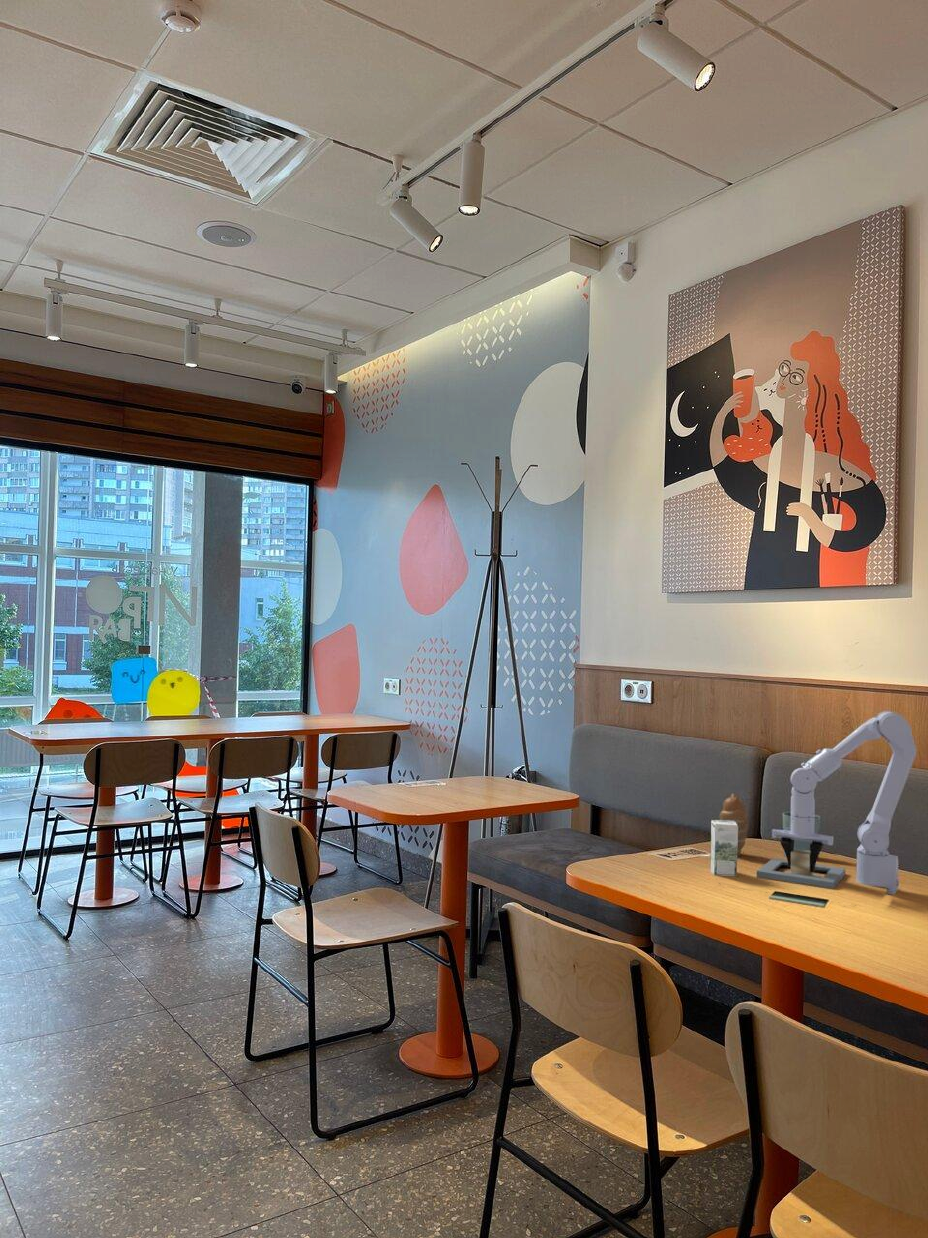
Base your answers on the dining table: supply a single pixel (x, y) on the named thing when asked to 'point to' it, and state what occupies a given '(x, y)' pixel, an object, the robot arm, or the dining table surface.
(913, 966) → the dining table surface
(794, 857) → the maple block
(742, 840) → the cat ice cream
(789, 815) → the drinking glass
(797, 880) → the box
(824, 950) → the dining table surface
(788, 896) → the zone pad
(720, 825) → the syrup box
